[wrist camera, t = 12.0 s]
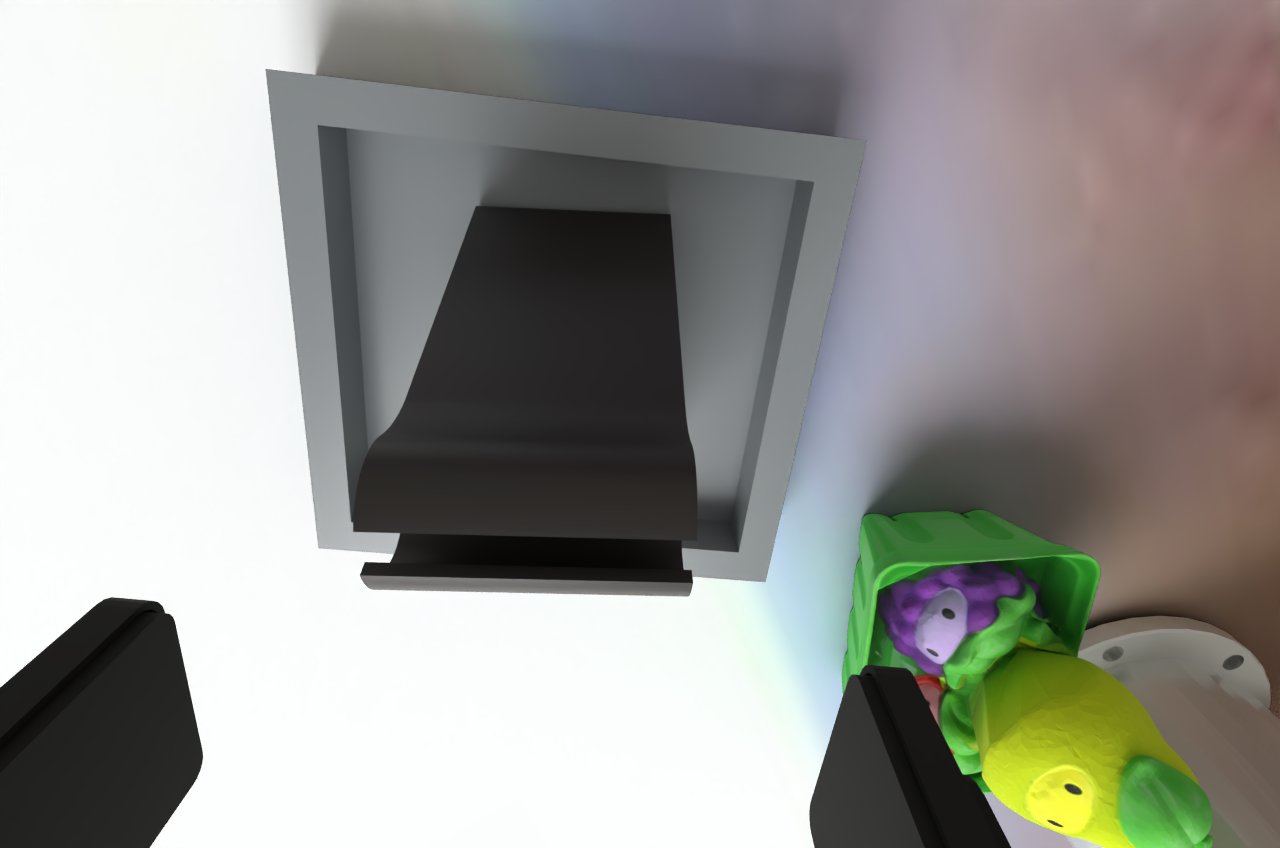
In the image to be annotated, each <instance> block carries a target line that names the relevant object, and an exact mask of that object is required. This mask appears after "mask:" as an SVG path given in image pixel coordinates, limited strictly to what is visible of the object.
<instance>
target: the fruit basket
mask: <svg viewBox="0 0 1280 848" xmlns="http://www.w3.org/2000/svg"><path fill="white" fill-rule="evenodd" d="M859 550H860V556H861V557H860V559H859V562H858V563H857V565H856V570H855V577H854V585H853V601H854V606H853V609H852V610H851V612H850V617H849V625H848V633H847V645H848V651H847V653H846V655H845V657H844V665H843V672H842V687H843V695H844V691H845V688H846V685H847V681H848V679H849V677H850V676H851V675H852V674H856V675H860V673H861V671H862V668H863V667H864V666H865V665H876V666H887V667H898V668H907V669H908V670H910V671H911V673H912V674H913V676H914V677H915V679H916V681H917V683H918V685H919V687H920V689H921V691H922V693H923V695H924V697H925V699H926V701H927V703H928V705H929V707H930V709H931V712H932V714H933V716H934V718H935V720H936V722H937V724H938V726H939V728H940V730H941V732H942V734H943V736H944V738H945V740H946V742H947V744H948V746H949V748H950V750H951V752H952V754H953V756H954V758H955V760H956V762H957V764H958V766H959V768H960V770H961V772H962V774H964V775H968V776H969V777H970V778H972V779H973V780H974V781H975V782H976V783H977V784H978V786H979V788H980V789H981V791H982V792H983V794H994V795H995V796H996V797H997V798H998V799H999V800H1000V801H1001V802H1002V803H1004V804H1005V805H1006V806H1007V807H1009V808H1010V809H1012V810H1013V811H1015V812H1016V813H1018V814H1020V815H1021V816H1023V817H1024V818H1025V819H1027V820H1030V821H1032V822H1034V823H1036V824H1038V825H1040V826H1043V827H1046V828H1048V829H1050V830H1053V831H1055V832H1058V833H1061V834H1064V835H1067V836H1070V837H1074V838H1079V839H1084V840H1088V841H1090V842H1092V843H1095V844H1097V845H1099V846H1102V847H1104V848H1210V847H1211V846H1212V843H1213V838H1212V836H1210V835H1208V833H1209V831H1210V828H1211V825H1212V809H1211V805H1210V802H1209V800H1208V797H1207V795H1206V793H1205V792H1204V791H1203V790H1202V789H1201V787H1200V785H1199V783H1198V780H1197V778H1196V777H1195V775H1194V773H1193V772H1192V770H1191V769H1190V768H1189V766H1188V765H1187V764H1186V763H1185V762H1184V761H1183V759H1182V758H1181V757H1180V756H1179V755H1178V754H1177V753H1176V752H1175V751H1174V750H1173V749H1172V748H1171V747H1170V746H1169V745H1168V744H1167V743H1166V742H1165V740H1164V739H1163V737H1162V736H1161V734H1160V732H1159V731H1158V729H1157V728H1156V726H1155V724H1154V722H1153V721H1152V719H1151V717H1150V715H1149V714H1148V712H1147V711H1146V709H1145V708H1144V707H1143V705H1142V704H1141V703H1140V702H1139V700H1138V699H1137V698H1136V697H1135V696H1134V695H1133V694H1132V693H1131V692H1130V691H1129V690H1128V689H1127V688H1126V687H1125V686H1124V685H1123V684H1122V683H1121V682H1120V681H1119V680H1117V679H1116V678H1115V677H1113V676H1112V675H1110V674H1109V673H1107V672H1106V671H1104V670H1103V669H1101V668H1100V667H1098V666H1096V665H1095V664H1093V663H1091V662H1089V661H1087V660H1084V659H1082V658H1078V651H1079V647H1080V644H1081V641H1082V638H1083V635H1084V631H1085V628H1086V625H1087V622H1088V618H1089V615H1090V611H1091V608H1092V605H1093V601H1094V598H1095V594H1096V591H1097V588H1098V584H1099V580H1100V575H1101V569H1100V565H1099V563H1098V562H1097V561H1096V560H1095V559H1094V558H1092V557H1091V556H1089V555H1087V554H1084V553H1082V552H1079V551H1077V550H1074V549H1072V548H1070V547H1067V546H1064V545H1059V544H1053V543H1051V542H1049V541H1047V540H1045V539H1043V538H1041V537H1039V536H1037V535H1035V534H1033V533H1031V532H1029V531H1027V530H1025V529H1023V528H1021V527H1019V526H1017V525H1015V524H1013V523H1011V522H1009V521H1007V520H1005V519H1003V518H1000V517H998V516H996V515H994V514H992V513H990V512H988V511H985V510H974V511H971V512H967V513H963V514H962V515H960V514H959V513H954V512H950V511H938V512H910V513H901V514H898V515H894V516H892V517H891V518H889V517H888V516H883V515H880V514H867V515H865V516H864V517H863V519H862V523H861V530H860V537H859Z"/></svg>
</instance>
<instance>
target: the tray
mask: <svg viewBox="0 0 1280 848" xmlns="http://www.w3.org/2000/svg"><path fill="white" fill-rule="evenodd" d="M266 76H267V85H268V95H269V104H270V113H271V122H272V131H273V140H274V149H275V158H276V167H277V176H278V185H279V194H280V203H281V212H282V221H283V230H284V239H285V249H286V258H287V267H288V276H289V285H290V294H291V303H292V312H293V321H294V330H295V339H296V348H297V357H298V366H299V375H300V384H301V393H302V403H303V412H304V421H305V430H306V439H307V448H308V457H309V466H310V475H311V484H312V493H313V502H314V511H315V520H316V529H317V538H318V547H319V548H323V549H336V550H349V551H362V552H376V553H389V554H394V553H395V550H396V547H397V544H398V540H399V536H400V533H372V532H353V516H354V504H355V497H356V490H357V485H358V480H359V476H360V472H361V469H362V466H363V463H364V460H365V458H366V455H367V453H368V451H369V449H370V447H371V445H372V444H373V442H374V441H375V440H376V439H377V438H378V437H379V436H380V435H381V434H383V433H384V432H385V431H386V430H387V429H388V428H389V427H390V426H391V424H392V423H393V422H394V420H395V419H396V417H397V415H398V414H399V412H400V410H401V408H402V406H403V403H404V401H405V398H406V396H407V393H408V390H409V388H410V385H411V382H412V379H413V377H414V374H415V371H416V368H417V366H418V363H419V360H420V357H421V355H422V352H423V349H424V346H425V344H426V341H427V338H428V336H429V333H430V330H431V327H432V325H433V322H434V319H435V316H436V314H437V311H438V308H439V305H440V303H441V300H442V297H443V294H444V292H445V289H446V286H447V283H448V281H449V278H450V275H451V273H452V270H453V267H454V264H455V262H456V259H457V256H458V253H459V251H460V248H461V245H462V242H463V240H464V237H465V234H466V231H467V229H468V226H469V223H470V220H471V218H472V215H473V212H474V210H475V207H476V206H491V207H515V208H538V209H561V210H584V211H608V212H631V213H654V214H671V226H672V239H673V252H674V265H675V278H676V291H677V304H678V317H679V330H680V343H681V356H682V369H683V382H684V395H685V408H686V418H687V426H688V432H689V436H690V440H691V443H692V446H693V450H694V455H695V463H696V475H697V504H698V516H697V541H691V540H682V558H683V568H684V570H692V577H705V578H718V579H732V580H745V581H758V582H766V577H767V573H768V569H769V564H770V560H771V556H772V551H773V547H774V543H775V538H776V534H777V529H778V525H779V521H780V516H781V512H782V508H783V503H784V499H785V495H786V490H787V486H788V481H789V477H790V473H791V468H792V464H793V460H794V455H795V451H796V447H797V442H798V438H799V433H800V429H801V425H802V420H803V416H804V412H805V407H806V403H807V399H808V394H809V390H810V385H811V381H812V377H813V372H814V368H815V364H816V359H817V355H818V351H819V346H820V342H821V337H822V333H823V329H824V324H825V320H826V316H827V311H828V307H829V303H830V298H831V294H832V289H833V285H834V281H835V276H836V272H837V268H838V263H839V259H840V254H841V250H842V246H843V241H844V237H845V233H846V228H847V224H848V220H849V215H850V211H851V206H852V202H853V198H854V193H855V189H856V185H857V180H858V176H859V172H860V167H861V163H862V158H863V154H864V150H865V145H866V140H857V139H849V138H841V137H832V136H824V135H815V134H807V133H799V132H790V131H782V130H774V129H765V128H757V127H748V126H740V125H732V124H723V123H715V122H706V121H698V120H690V119H681V118H673V117H664V116H656V115H648V114H639V113H631V112H622V111H614V110H606V109H597V108H589V107H580V106H572V105H564V104H555V103H547V102H538V101H530V100H522V99H513V98H505V97H496V96H488V95H480V94H471V93H463V92H454V91H446V90H438V89H429V88H421V87H412V86H404V85H396V84H387V83H379V82H370V81H362V80H354V79H345V78H337V77H328V76H320V75H312V74H303V73H295V72H286V71H278V70H270V69H266Z"/></svg>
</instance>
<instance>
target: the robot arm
mask: <svg viewBox="0 0 1280 848" xmlns="http://www.w3.org/2000/svg"><path fill="white" fill-rule="evenodd" d="M1078 658H1082V659H1084V660H1087V661H1089V662H1091V663H1093V664H1095V665H1096V666H1098V667H1100V668H1101V669H1103V670H1104V671H1106V672H1107V673H1109V674H1110V675H1112V676H1113V677H1115V678H1116V679H1117V680H1119V681H1120V682H1121V683H1122V684H1123V685H1124V686H1125V687H1126V688H1127V689H1128V690H1129V691H1130V692H1131V693H1132V694H1133V695H1134V696H1135V697H1136V698H1137V699H1138V700H1139V702H1140V703H1141V704H1142V705H1143V707H1144V708H1145V709H1146V711H1147V712H1148V714H1149V715H1150V717H1151V719H1152V721H1153V722H1154V724H1155V726H1156V728H1157V729H1158V731H1159V732H1160V734H1161V736H1162V737H1163V739H1164V740H1165V742H1166V743H1167V744H1168V745H1169V746H1170V747H1171V748H1172V749H1173V750H1174V751H1175V752H1176V753H1177V754H1178V755H1179V756H1180V757H1181V758H1182V759H1183V761H1184V762H1185V763H1186V764H1187V765H1188V766H1189V768H1190V769H1191V770H1192V772H1193V773H1194V775H1195V777H1196V778H1197V780H1198V783H1199V785H1200V787H1201V789H1202V790H1203V791H1204V792H1205V793H1206V795H1207V797H1208V800H1209V802H1210V805H1211V809H1212V825H1211V828H1210V831H1209V833H1208V835H1210V836H1212V838H1213V843H1212V846H1211V847H1210V848H1280V720H1279V719H1278V718H1277V717H1276V716H1275V715H1274V714H1273V713H1272V712H1270V711H1269V708H1270V703H1271V695H1270V682H1269V680H1268V677H1267V675H1266V672H1265V670H1264V667H1263V666H1262V664H1261V663H1260V662H1259V661H1258V660H1257V658H1256V657H1255V656H1254V655H1253V654H1252V652H1250V651H1249V650H1248V649H1247V648H1246V647H1244V646H1243V645H1242V644H1241V643H1239V642H1238V641H1237V640H1236V639H1235V638H1233V637H1232V636H1231V635H1230V634H1229V633H1227V632H1225V631H1223V630H1221V629H1219V628H1217V627H1215V626H1213V625H1211V624H1209V623H1205V622H1201V621H1197V620H1193V619H1189V618H1184V617H1171V616H1150V617H1137V618H1129V619H1124V620H1120V621H1115V622H1110V623H1106V624H1102V625H1099V626H1096V627H1093V628H1091V629H1088V630H1085V631H1084V635H1083V638H1082V641H1081V644H1080V647H1079V651H1078ZM202 760H203V751H202V747H201V742H200V737H199V733H198V728H197V723H196V719H195V714H194V709H193V705H192V700H191V695H190V691H189V686H188V681H187V677H186V672H185V667H184V663H183V658H182V653H181V649H180V644H179V639H178V635H177V630H176V625H175V621H174V619H173V617H172V616H171V615H170V614H166V613H165V611H164V609H163V606H162V605H161V604H159V603H158V602H155V601H146V600H135V599H124V598H108V599H104V600H103V601H101V602H100V603H98V604H97V605H96V606H94V607H93V608H92V609H91V610H90V611H89V612H87V613H86V614H85V615H84V616H83V617H82V618H81V619H79V620H78V621H77V622H76V623H75V624H74V625H72V626H71V627H70V628H69V629H68V630H67V631H65V632H64V633H63V634H62V635H61V636H60V637H59V638H57V639H56V640H55V641H54V642H53V643H52V644H50V645H49V646H48V647H47V648H46V649H45V650H43V651H42V652H41V653H40V654H39V655H38V656H36V657H35V658H34V659H33V660H32V661H31V662H30V663H28V664H27V665H26V666H25V667H24V668H23V669H21V670H20V671H19V672H18V673H17V674H16V675H14V676H13V677H12V678H11V679H10V680H9V681H8V682H6V683H5V684H4V685H3V686H2V687H1V688H0V848H150V846H151V845H152V843H153V842H154V840H155V839H156V837H157V836H158V835H159V833H160V832H161V830H162V829H163V827H164V826H165V824H166V823H167V822H168V820H169V819H170V817H171V816H172V814H173V813H174V811H175V810H176V809H177V807H178V806H179V804H180V803H181V801H182V800H183V798H184V797H185V796H186V794H187V793H188V791H189V790H190V788H191V787H192V785H193V784H194V782H195V780H196V779H197V777H198V774H199V772H200V769H201V765H202ZM810 828H811V834H812V838H813V842H814V846H815V848H1011V846H1010V844H1009V842H1008V840H1007V838H1006V836H1005V834H1004V833H1003V831H1002V829H1001V827H1000V825H999V823H998V821H997V819H996V817H995V815H994V813H993V811H992V809H991V807H990V805H989V803H988V801H987V799H986V797H985V795H984V794H983V792H982V791H981V789H980V788H979V786H978V784H977V783H976V782H975V781H974V780H973V779H972V778H970V777H969V776H968V775H964V774H962V772H961V770H960V768H959V766H958V764H957V762H956V760H955V758H954V756H953V754H952V752H951V750H950V748H949V746H948V744H947V742H946V740H945V738H944V736H943V734H942V732H941V730H940V728H939V726H938V724H937V722H936V720H935V718H934V716H933V714H932V712H931V709H930V707H929V705H928V703H927V701H926V699H925V697H924V695H923V693H922V691H921V689H920V687H919V685H918V683H917V681H916V679H915V677H914V676H913V674H912V673H911V671H910V670H908V669H907V668H898V667H887V666H876V665H865V666H864V667H863V668H862V671H861V673H860V675H856V674H852V675H851V676H850V677H849V679H848V681H847V685H846V688H845V691H844V695H843V698H842V701H841V704H840V708H839V711H838V714H837V718H836V721H835V724H834V727H833V731H832V734H831V737H830V741H829V744H828V747H827V750H826V754H825V757H824V760H823V764H822V767H821V770H820V773H819V777H818V780H817V783H816V787H815V790H814V793H813V796H812V800H811V804H810ZM1065 836H1066V837H1067V839H1068V841H1069V842H1070V844H1071V846H1072V847H1073V848H1104V847H1102V846H1099V845H1097V844H1095V843H1092V842H1090V841H1088V840H1084V839H1079V838H1074V837H1070V836H1067V835H1065Z"/></svg>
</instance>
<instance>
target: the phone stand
mask: <svg viewBox="0 0 1280 848" xmlns="http://www.w3.org/2000/svg"><path fill="white" fill-rule="evenodd" d="M697 516H698V504H697V475H696V463H695V455H694V450H693V446H692V443H691V440H690V436H689V432H688V426H687V418H686V408H685V395H684V382H683V369H682V356H681V343H680V330H679V317H678V304H677V291H676V278H675V265H674V252H673V239H672V226H671V214H654V213H631V212H608V211H584V210H561V209H538V208H515V207H491V206H476V207H475V210H474V212H473V215H472V218H471V220H470V223H469V226H468V229H467V231H466V234H465V237H464V240H463V242H462V245H461V248H460V251H459V253H458V256H457V259H456V262H455V264H454V267H453V270H452V273H451V275H450V278H449V281H448V283H447V286H446V289H445V292H444V294H443V297H442V300H441V303H440V305H439V308H438V311H437V314H436V316H435V319H434V322H433V325H432V327H431V330H430V333H429V336H428V338H427V341H426V344H425V346H424V349H423V352H422V355H421V357H420V360H419V363H418V366H417V368H416V371H415V374H414V377H413V379H412V382H411V385H410V388H409V390H408V393H407V396H406V398H405V401H404V403H403V406H402V408H401V410H400V412H399V414H398V415H397V417H396V419H395V420H394V422H393V423H392V424H391V426H390V427H389V428H388V429H387V430H386V431H385V432H384V433H383V434H381V435H380V436H379V437H378V438H377V439H376V440H375V441H374V442H373V444H372V445H371V447H370V449H369V451H368V453H367V455H366V458H365V460H364V463H363V466H362V469H361V472H360V476H359V480H358V485H357V490H356V497H355V504H354V516H353V532H372V533H400V536H399V540H398V544H397V547H396V550H395V553H394V555H393V558H392V560H391V562H390V563H374V562H365V563H364V566H363V569H362V572H361V574H360V576H361V579H362V581H363V582H364V584H365V585H366V586H367V587H368V588H370V589H374V590H417V591H463V592H508V593H554V594H599V595H645V596H689V595H690V593H691V589H692V585H693V579H692V570H684V568H683V558H682V540H691V541H697Z"/></svg>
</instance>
